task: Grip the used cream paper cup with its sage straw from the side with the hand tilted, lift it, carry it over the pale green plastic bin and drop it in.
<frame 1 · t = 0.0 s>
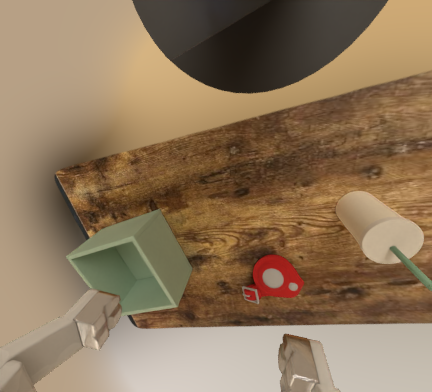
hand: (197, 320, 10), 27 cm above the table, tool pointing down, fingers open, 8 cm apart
paper cup: (355, 207, 33), on the table
red flat rounded piece: (267, 273, 42), on the table
bin: (147, 248, 45), on the table
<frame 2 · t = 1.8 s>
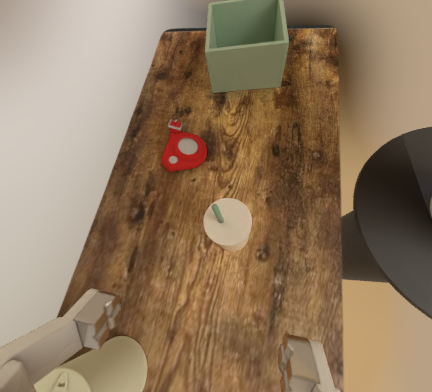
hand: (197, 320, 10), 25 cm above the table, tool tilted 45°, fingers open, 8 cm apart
paper cup: (231, 233, 36), on the table
red flat rounded piece: (185, 149, 43), on the table
bin: (245, 66, 49), on the table
can: (119, 370, 31), on the table
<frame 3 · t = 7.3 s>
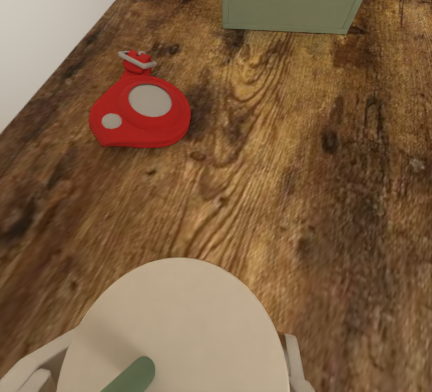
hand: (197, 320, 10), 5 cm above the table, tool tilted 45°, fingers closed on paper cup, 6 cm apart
paper cup: (206, 316, 15), on the table, touching gripper
red flat rounded piece: (152, 112, 22), on the table
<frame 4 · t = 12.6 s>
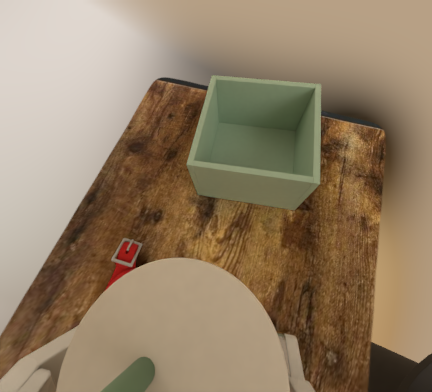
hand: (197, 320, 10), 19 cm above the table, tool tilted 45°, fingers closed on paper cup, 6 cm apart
paper cup: (206, 316, 15), point 14 cm above the table, touching gripper
red flat rounded piece: (138, 286, 29), on the table
bin: (250, 161, 35), on the table
when the fingers open (10 cm above the table, at t = 18.2 s): paper cup drops 4 cm, resting on bin.
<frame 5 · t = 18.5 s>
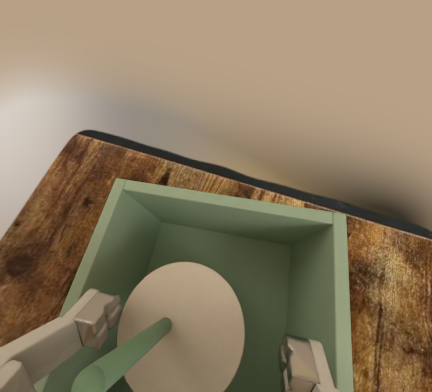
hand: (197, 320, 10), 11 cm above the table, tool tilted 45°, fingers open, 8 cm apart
paper cup: (202, 304, 19), point 1 cm above the table, touching bin, gripper
bin: (211, 305, 20), on the table
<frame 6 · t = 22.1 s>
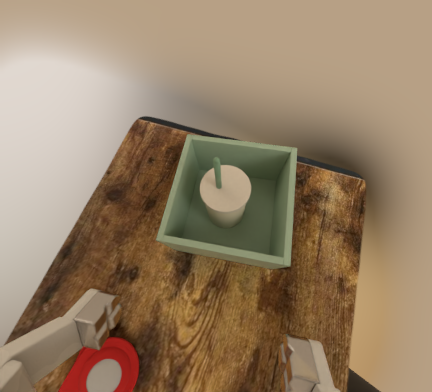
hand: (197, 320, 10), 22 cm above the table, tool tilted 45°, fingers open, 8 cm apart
paper cup: (225, 210, 34), point 1 cm above the table, touching bin
red flat rounded piece: (111, 353, 28), on the table
bin: (230, 212, 35), on the table
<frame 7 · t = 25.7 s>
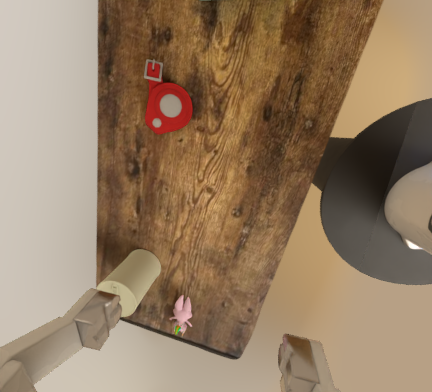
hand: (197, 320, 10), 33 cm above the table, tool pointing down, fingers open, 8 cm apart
red flat rounded piece: (169, 100, 39), on the table
can: (144, 264, 52), on the table
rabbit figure: (184, 308, 54), on the table
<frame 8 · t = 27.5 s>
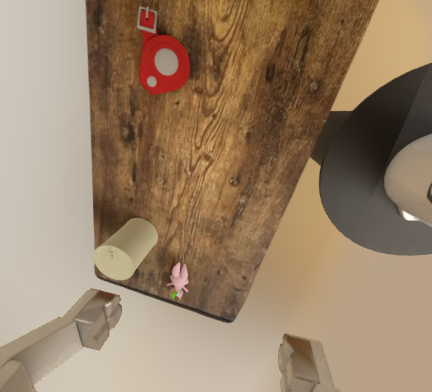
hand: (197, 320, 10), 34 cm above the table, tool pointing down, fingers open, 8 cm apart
red flat rounded piece: (165, 56, 36), on the table
can: (141, 232, 53), on the table
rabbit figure: (181, 275, 56), on the table
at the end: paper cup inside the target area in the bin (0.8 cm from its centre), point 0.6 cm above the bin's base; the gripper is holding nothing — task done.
